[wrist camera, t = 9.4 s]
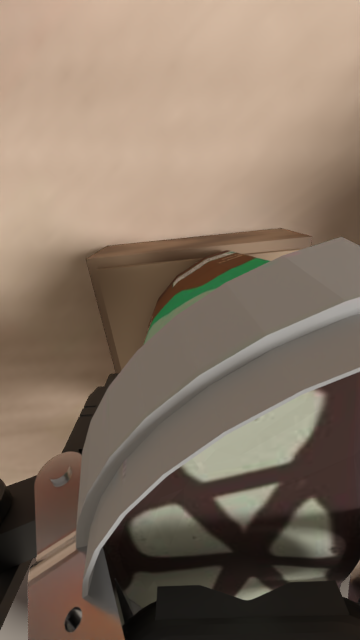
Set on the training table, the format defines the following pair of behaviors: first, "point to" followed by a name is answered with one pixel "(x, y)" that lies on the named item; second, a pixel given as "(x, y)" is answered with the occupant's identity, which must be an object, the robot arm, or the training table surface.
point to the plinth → (164, 277)
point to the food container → (233, 432)
